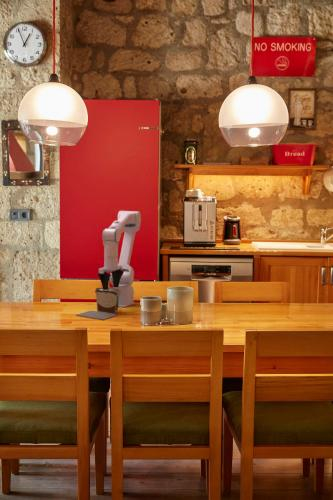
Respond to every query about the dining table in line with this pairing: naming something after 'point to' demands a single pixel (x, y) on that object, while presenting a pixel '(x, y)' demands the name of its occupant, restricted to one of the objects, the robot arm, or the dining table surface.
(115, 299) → the food container
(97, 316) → the mat
